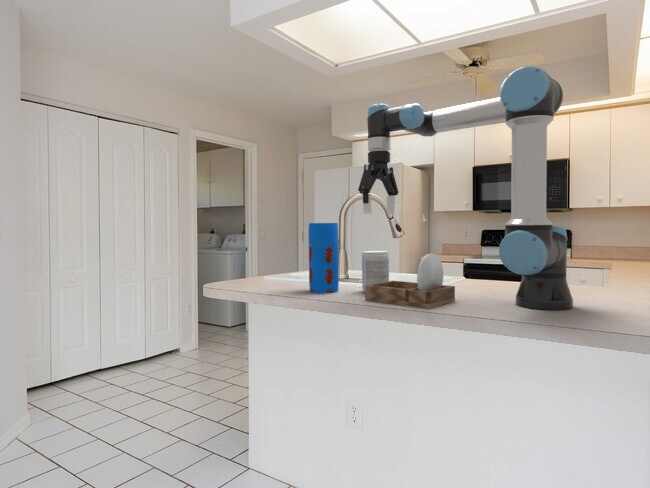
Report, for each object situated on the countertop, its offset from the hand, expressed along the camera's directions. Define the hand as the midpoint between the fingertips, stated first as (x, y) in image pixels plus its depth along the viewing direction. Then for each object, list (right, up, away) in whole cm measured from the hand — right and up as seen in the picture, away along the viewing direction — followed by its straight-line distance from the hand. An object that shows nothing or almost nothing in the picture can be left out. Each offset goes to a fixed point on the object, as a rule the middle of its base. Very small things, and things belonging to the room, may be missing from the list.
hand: (379, 214), depth 153 cm
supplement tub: (0, -28, +8) cm, 29 cm away
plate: (+14, -27, -16) cm, 35 cm away
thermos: (-19, -28, +11) cm, 35 cm away
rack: (+8, -28, -11) cm, 31 cm away
